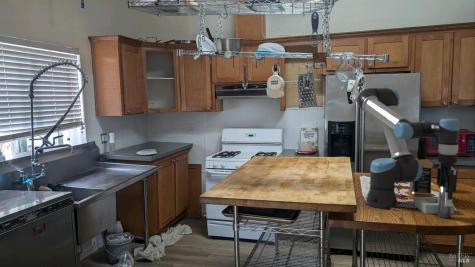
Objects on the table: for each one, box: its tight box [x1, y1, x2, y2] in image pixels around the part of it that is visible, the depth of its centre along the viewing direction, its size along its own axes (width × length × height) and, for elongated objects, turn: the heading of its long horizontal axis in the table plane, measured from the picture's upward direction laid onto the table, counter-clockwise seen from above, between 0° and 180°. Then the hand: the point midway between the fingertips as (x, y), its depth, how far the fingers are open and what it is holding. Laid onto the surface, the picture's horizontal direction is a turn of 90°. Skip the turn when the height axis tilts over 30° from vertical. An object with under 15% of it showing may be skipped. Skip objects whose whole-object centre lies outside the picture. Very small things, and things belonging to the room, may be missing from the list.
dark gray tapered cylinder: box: [437, 185, 452, 219], centre depth 163 cm, size 5×5×14 cm
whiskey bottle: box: [408, 138, 434, 199], centre depth 194 cm, size 10×10×32 cm
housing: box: [412, 196, 455, 215], centre depth 175 cm, size 13×13×5 cm
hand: (445, 203), depth 163 cm, fingers closed on dark gray tapered cylinder, 5 cm apart
